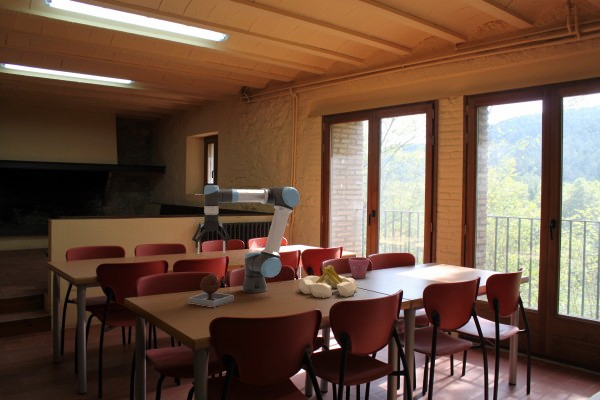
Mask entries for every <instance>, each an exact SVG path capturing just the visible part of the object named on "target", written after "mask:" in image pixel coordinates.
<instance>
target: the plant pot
mask: <svg viewBox="0 0 600 400" xmlns="http://www.w3.org/2000/svg"><path fill="white" fill-rule="evenodd" d="M369 264H370V259H369V258H367V257H350V258H348V265H349V268H350V272H351V273H350V274H351V278H353V279H354V278H355V279H364V278H366V276H367V275H366V274H367V270H368V266H369Z"/></svg>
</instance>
